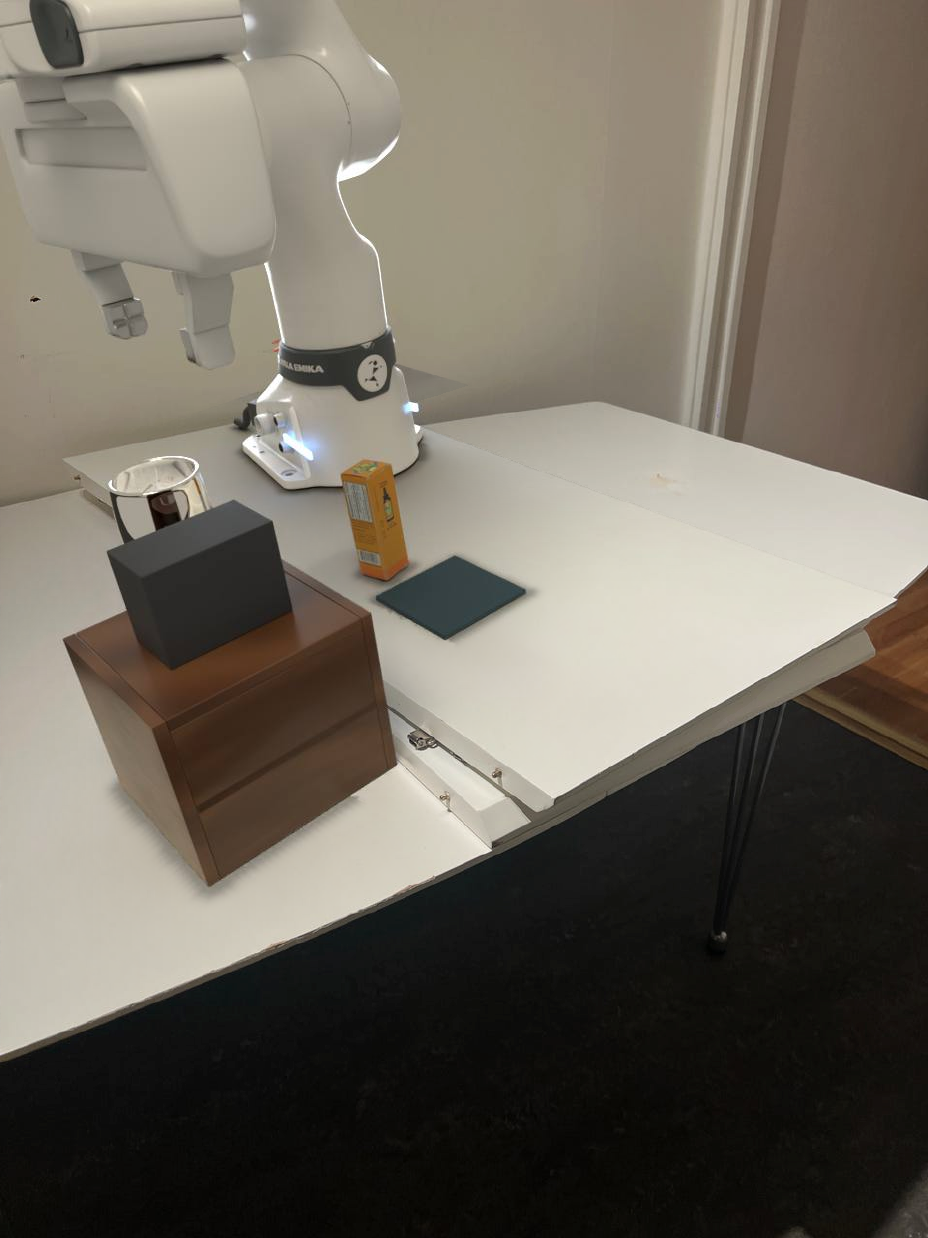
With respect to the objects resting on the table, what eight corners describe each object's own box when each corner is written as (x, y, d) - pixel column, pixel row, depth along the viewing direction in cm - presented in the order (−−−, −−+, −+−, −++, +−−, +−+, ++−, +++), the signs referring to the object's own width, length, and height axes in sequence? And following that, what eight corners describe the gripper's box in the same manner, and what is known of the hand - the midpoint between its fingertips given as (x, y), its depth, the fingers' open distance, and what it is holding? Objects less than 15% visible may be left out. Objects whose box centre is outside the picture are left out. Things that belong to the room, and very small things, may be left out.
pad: (376, 599, 77) (375, 595, 77) (455, 558, 82) (454, 554, 82) (445, 639, 71) (444, 635, 71) (526, 593, 76) (525, 589, 76)
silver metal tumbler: (166, 680, 70) (107, 504, 62) (154, 635, 75) (99, 469, 67) (254, 653, 72) (209, 480, 64) (236, 612, 77) (193, 447, 69)
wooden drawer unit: (121, 786, 60) (61, 638, 54) (298, 689, 68) (264, 548, 61) (208, 887, 52) (151, 728, 46) (397, 764, 60) (372, 612, 53)
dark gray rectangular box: (136, 640, 53) (105, 550, 49) (255, 585, 57) (233, 498, 54) (171, 671, 50) (140, 577, 47) (293, 610, 54) (273, 520, 51)
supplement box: (380, 557, 83) (364, 455, 78) (410, 565, 81) (395, 462, 76) (356, 574, 81) (338, 470, 76) (386, 583, 79) (370, 478, 74)
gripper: (-68, 47, 44) (35, 335, 51) (101, 6, 30) (207, 407, 38) (60, 34, 47) (139, 308, 54) (264, -8, 33) (332, 364, 41)
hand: (168, 349), depth 46 cm, fingers open, 8 cm apart
